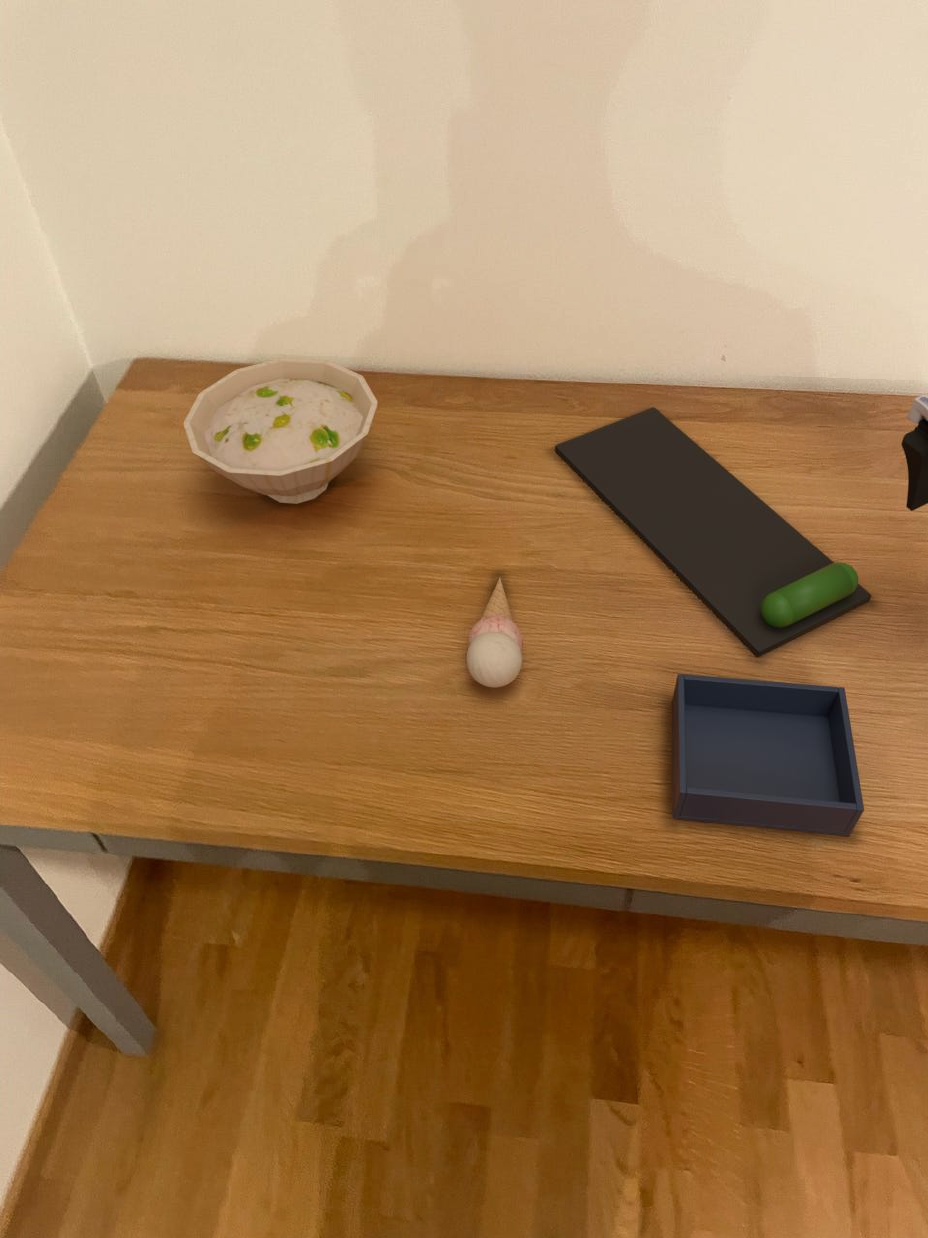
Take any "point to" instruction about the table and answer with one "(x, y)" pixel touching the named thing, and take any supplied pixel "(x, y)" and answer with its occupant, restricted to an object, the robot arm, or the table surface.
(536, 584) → the table surface
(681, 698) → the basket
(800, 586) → the cucumber
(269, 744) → the table surface
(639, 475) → the mat
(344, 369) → the bowl
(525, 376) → the table surface
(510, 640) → the ice cream cone
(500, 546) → the table surface
